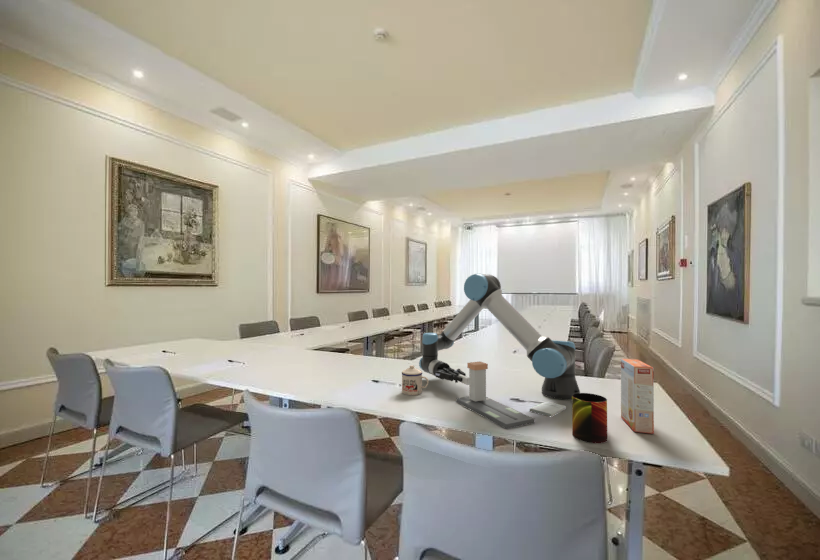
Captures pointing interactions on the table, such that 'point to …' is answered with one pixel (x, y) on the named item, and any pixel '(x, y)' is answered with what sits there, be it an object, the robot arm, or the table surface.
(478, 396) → the fader lever
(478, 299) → the robot arm
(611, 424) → the table surface
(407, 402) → the table surface
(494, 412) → the fader console
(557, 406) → the external hard drive
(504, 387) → the table surface
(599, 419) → the mug
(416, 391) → the teacup with lid
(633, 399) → the cracker box
